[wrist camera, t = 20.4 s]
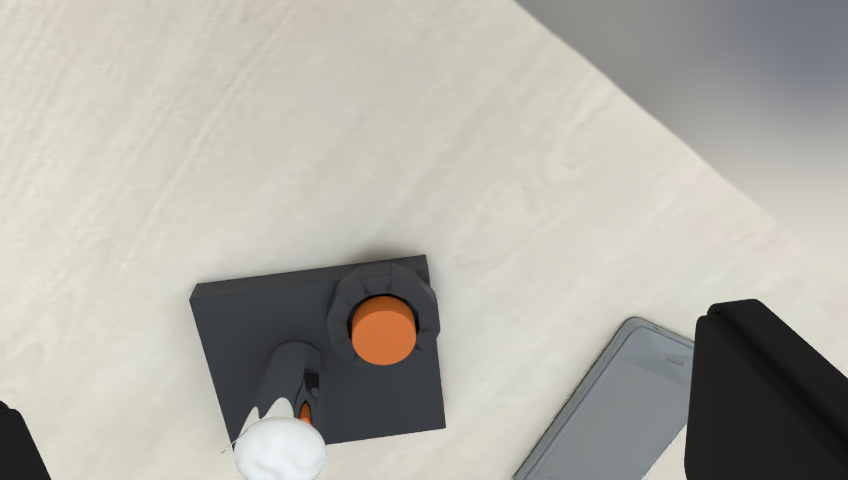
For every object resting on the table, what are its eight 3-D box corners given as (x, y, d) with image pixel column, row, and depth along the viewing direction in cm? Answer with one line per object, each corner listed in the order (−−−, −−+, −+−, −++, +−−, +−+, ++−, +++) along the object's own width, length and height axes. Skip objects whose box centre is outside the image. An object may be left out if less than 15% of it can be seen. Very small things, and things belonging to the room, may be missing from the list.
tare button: (410, 291, 37) (412, 307, 35) (417, 344, 38) (419, 361, 37) (348, 299, 37) (347, 315, 35) (357, 352, 38) (356, 369, 37)
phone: (508, 482, 48) (511, 495, 46) (629, 311, 42) (637, 322, 41) (598, 513, 50) (603, 526, 49) (724, 354, 44) (734, 365, 43)
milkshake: (282, 308, 38) (256, 421, 29) (348, 360, 40) (343, 482, 31) (232, 355, 39) (191, 478, 30) (298, 404, 41) (279, 534, 32)
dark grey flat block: (428, 242, 39) (433, 268, 36) (446, 409, 44) (452, 444, 41) (193, 273, 39) (177, 302, 35) (240, 437, 44) (230, 475, 41)
